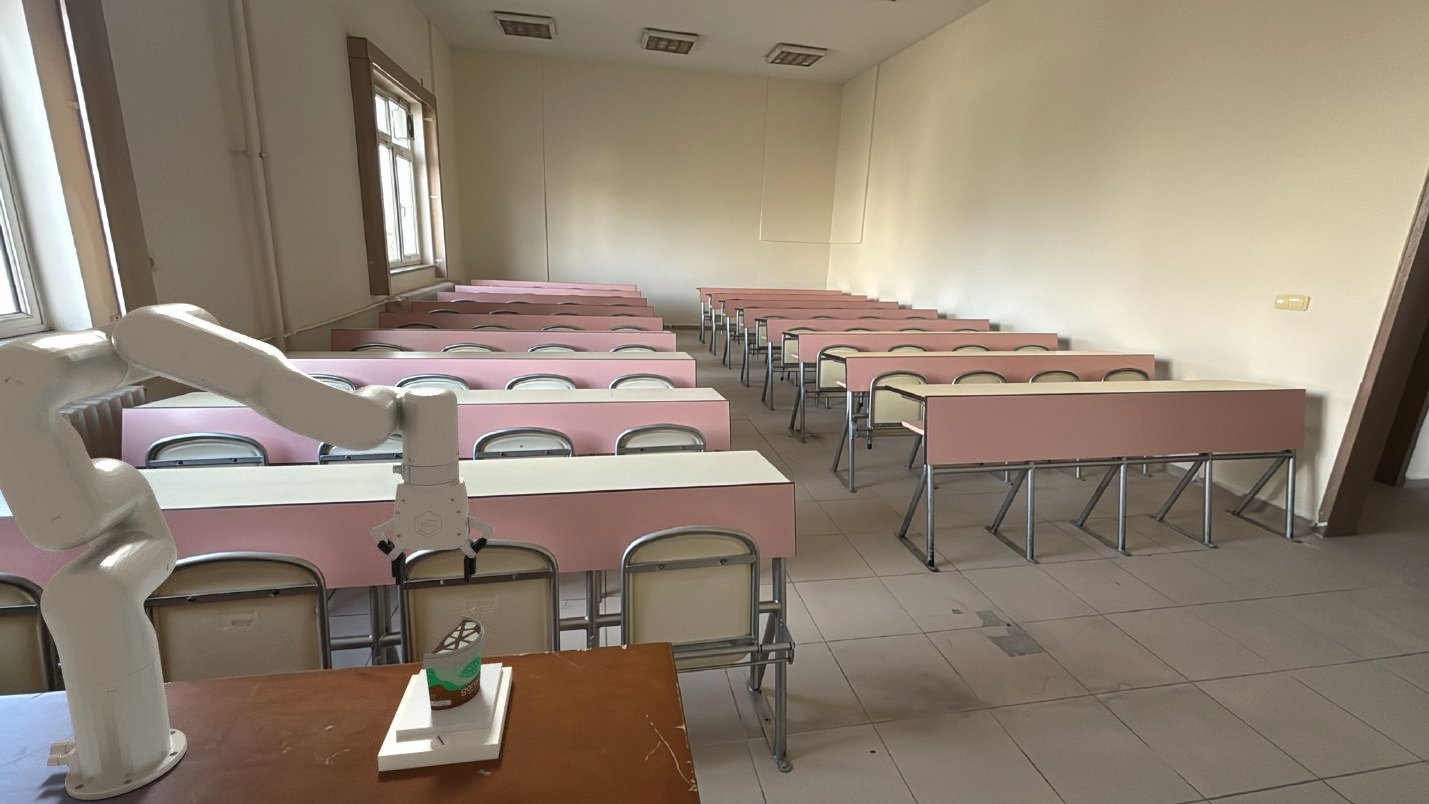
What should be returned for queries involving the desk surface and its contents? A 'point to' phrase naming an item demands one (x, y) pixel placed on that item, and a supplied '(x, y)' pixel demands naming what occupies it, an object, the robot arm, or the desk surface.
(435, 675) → the food container
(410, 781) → the desk surface
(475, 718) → the scale
